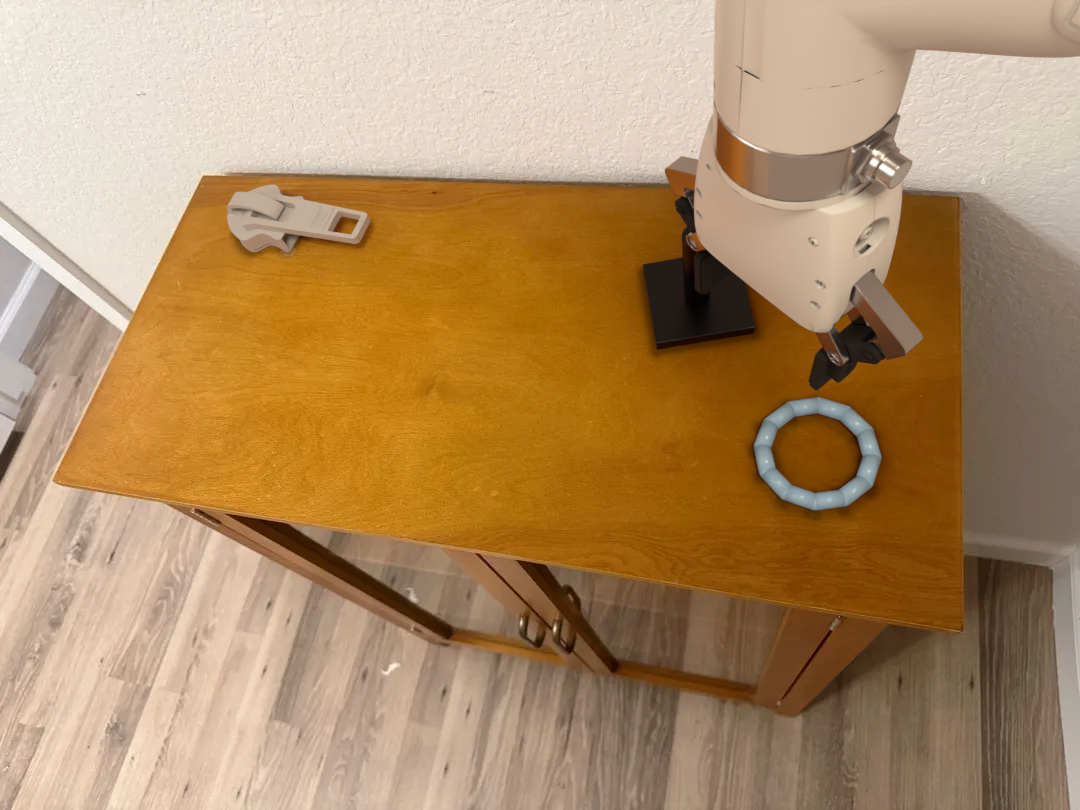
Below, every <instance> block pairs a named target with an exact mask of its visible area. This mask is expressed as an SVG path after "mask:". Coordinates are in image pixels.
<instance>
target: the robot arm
mask: <svg viewBox="0 0 1080 810" xmlns="http://www.w3.org/2000/svg"><path fill="white" fill-rule="evenodd" d="M713 22H714V23H713V24H714V27H713V28H714V29H713V91H712V92H713V95H712V115H711V117H710V118H709V120H708V123H707V125H706V129H705V132H704V135H703V138H702V142H701V146H700V150H699V155H698V159H697V158H692V157H688V156H684V155H681V156H679V157H678V158H677V159H676V160H674V161H673V162H672V163H670V164H669V165H667V166H666V168H664V174H665V176H666V179H667V182H668V183H669V187H670V188H671V191H672V193H673V195H674V196H676V197H677V199H676V200H675V201H674V206H675V211H676V212H677V213H678V215H680V218H681V219H682V221H683V222H684V224H685V225H686V227H688V229H689V230H690V232H691V233H689V234H688V235H687V236H686V241H687V243H688V245H689V246H690V247H691V248H692V249H693V250H694V251H696V255H694V271H695V290H696V291H698V292H699V293H700V294H707V293H708V292H709V291H710V290H712V289H713V288H714V287H715V286H716V285H718V284H719V283H720V282H721V281H723V280H724V279H725V278H726V277H727V276H729V275H730V274H731V273H732V272H733V273H734V274H736V275H737V276H738V277H739V278H741V279H742V280H743V281H744V282H745V284H746V285H748V286H749V287H750V288H752V290H754V291H755V292H757V293H758V294H759V295H760V296H762V297H763V298H764V299H765V300H767V301H768V302H769V303H771V304H772V305H773V306H774V307H775V308H777V309H778V310H779V311H781V312H782V313H783V314H785V315H786V316H787V317H788V318H789V319H791V320H793V321H794V322H795V323H797V324H798V325H799V326H800V327H803V328H804V329H806V330H808V331H811V332H814V333H815V335H816V336H817V339H818V341H819V343H820V345H821V347H820V349H818V351H816V352H815V355H814V358H813V362H812V365H811V369H810V374H809V377H808V381H807V382H808V383H809V387H811V388H812V389H813V390H814V391H815V392H816V391H819V390H820V389H821V388H822V387H824V386H825V385H826V384H828V382H830V381H831V380H833V381H834V382H835V383H837V384H839V383H841V382H842V381H843V380H845V379H846V378H847V377H848V376H849V375H850V374H852V372H853V371H854V370H855V368H856V367H857V365H858V363H863V364H867V365H868V364H869V365H878V364H879V363H880V362H881V361H883V360H886V361H890V360H893V359H897V358H901V357H905V356H906V355H907V354H908V353H910V351H912V350H913V349H914V348H916V347H917V345H919V344H920V343H921V342H922V341H923V339H924V336H923V334H922V332H921V330H920V329H919V328H918V327H917V326H916V324H915V323H914V322H913V321H912V319H911V317H910V316H908V314H907V313H906V312H905V310H904V309H903V308H902V307H901V306H900V304H899V303H898V302H897V300H896V299H895V298H894V297H893V296H892V294H891V293H890V292H889V291H888V290H887V288H886V287H885V285H884V283H885V281H886V279H887V277H888V273H889V269H890V266H891V263H892V258H893V255H894V250H895V246H896V241H897V237H898V232H899V227H900V221H901V214H902V204H903V181H904V179H905V178H906V177H907V175H908V174H909V172H910V170H911V168H912V166H913V160H912V159H910V158H908V157H907V156H905V155H904V154H902V153H901V148H899V147H898V146H897V143H896V141H895V136H896V134H897V130H898V126H899V124H900V121H901V117H902V116H901V115H900V114H898V113H899V110H900V106H901V104H902V100H903V97H904V93H905V90H906V86H907V83H908V80H909V78H910V73H911V70H912V67H913V63H914V60H915V56H916V53H917V51H932V52H933V51H934V52H935V51H936V52H947V53H950V52H951V53H964V54H977V55H978V54H979V55H989V56H1002V57H1016V58H1017V57H1018V58H1019V57H1020V58H1041V59H1042V58H1045V59H1049V58H1050V59H1057V58H1061V59H1062V58H1075V57H1077V58H1078V57H1080V0H714V21H713ZM846 315H847V317H848V319H849V321H850V323H848V325H846V326H845V327H844V328H843V329H842V330H841V331H839V330H838V328H837V327H836V323H838V322H839V321H840V320H841V319H843V317H845V316H846Z"/></svg>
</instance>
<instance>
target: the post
mask: <svg viewBox="0 0 1080 810" xmlns="http://www.w3.org/2000/svg"><path fill="white" fill-rule="evenodd" d="M689 233H691V232H690V230H689V229H688V227H687V226H686V227H685V228H684V229H683V230H682V232H681V252H682V256H681V257H677V258H672V259H671V258H670V259H666V260H661V261H654V262H649V263H643V264H642V270H643V276H644V281H645V287H646V288H645V289H646V294H647V300H648V306H649V312H650V317H651V324H652V329H653V335H654V341H655V347H656V350H662V349H669V348H675V347H681V346H687V345H694V344H699V343H705V342H711V341H718V340H722V339H723V340H725V339H731V338H737V337H742V336H748V335H749V336H750V335H755V334H756V324H755V323H756V322H755V319H754V316H753V310H752V307H751V302H750V297H749V294H748V290H747V284H746V282H744V281H743V280H742V279H741V278H739V277H738V276H737V275H736V274H734V273H733V272H732V273H731V274H730V275H729V276H727V277H726V278H725V279H724V280H723V281H721V282H720V283H719V284H718V285H716V286H715V287H714V288H713V289H712V290H710V291H709V292H708V293H707V294H700V293H699V292H698V291H696V290H695V271H694V255H696V251H694V250H693V249H692V248H691V247H690V246H689V245H688V243H687V241H686V236H687V235H688V234H689Z"/></svg>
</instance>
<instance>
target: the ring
mask: <svg viewBox="0 0 1080 810" xmlns="http://www.w3.org/2000/svg"><path fill="white" fill-rule="evenodd" d="M817 414H818V415H821V416H824V417H827V418H831V419H833V420H837V421H840V422H841V423H842V424H843V425H844V426H845V427H846V428H847V429H848V430H849V431H850V432H851V433H852V434H853V435H855V437H856V439H857V443H858V446H859V449H860V454H861V457H862V458H861V460H860V463H859V467H858V469H857V473H856V476H854V478H852V479H851V480H849V481H848V482H847V483H845V484H844V485H843V486H842V487H840V488H839V489H834V490H826V491H819V492H813V491H812V490H808V489H805V488H802V487H799V486H796V485H793V484H792V483H791V482H790V481H789V480H788V479H787V478H786V477H785V476H784V475H783V474H782V472H780V470H778V468H776V463H775V459H774V454H773V451H772V447H773V444H774V442H775V439H776V436H777V433H778V430H780V429H781V428H782V427H784V426H785V425H786V424H787V423H789V422H791V420H793V419H794V418H796V417H797V418H798V417H804V416H811V415H817ZM753 451H754V456H755V462H756V465H757V470H758V474H759V477H760V478H761V479H762V480H763V481H764V482H765V483H766V484H767V486H769V488H770V489H771V490H772V491H773V492H774V493H775V494H776V495H777V496H778V497H779V498H780V499H781V500H783V501H785V502H788V503H790V504H793V505H796V506H800V507H802V508H804V509H808V510H810V511H815V512H816V511H822V510H831V509H837V508H845V507H848V506H850V505H852V503H853V502H855V501H856V500H858V499H859V498H860V497H861V496H863V495H864V494H865V493H866V492H868V491H869V490H870V489H872V488H873V486H874V484H875V481H876V479H877V478H876V477H877V474H878V471H879V468H880V465H881V462H882V453H881V450H880V447H879V443H878V440H877V436H876V433H875V430H874V428H873V427H872V426H871V424H870V423H868V422H867V421H866V420H865V419H864V418H863V417H862V416H861V415H860V414H859V413H857V411H856V410H855V409H853V408H852V407H851V406H850V405H847V404H844V403H840V402H838V401H834V400H831V399H827V398H824V397H821V396H813V397H809V398H808V397H807V398H801V399H795V400H794V399H793V400H789V401H787V402H784V404H782V405H780V407H778V408H777V409H775V410H773V412H772V413H770V414H769V415H767V416H766V417H765V418H764V419H763V420H762V423H761V425H760V428H759V430H758V433H757V435H756V437H755V441H754V444H753Z"/></svg>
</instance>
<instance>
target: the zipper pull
mask: <svg viewBox="0 0 1080 810" xmlns="http://www.w3.org/2000/svg"><path fill="white" fill-rule="evenodd" d="M226 212H227V216H226V219H227V220H226V221H227V225H228V227H229V230H230V231H231V233H232V234H233V236H235V238H237V239H238V240H239V241H240V243H241V244H242V246H243V247H244V248H245V249H246V250H248V252H251V253H258V252H260V251H262V250H264V249H266V248H267V247H270V246H271V247H272V246H273V247H276V248H279V249H280V250H282V251H283V252H287V253H289V252H291V251H292V249H293V248H294V245H295V244H296V242H297V241H298V239H299V237H300V236H302V237H308V238H309V237H310V238H315V239H322V240H328V241H333V242H341V243H348V244H353V245H356V244H359V243H360V242H361V241H362V239H363V237H364V235H365V233H366V231H367V229H368V228H369V225H370V223H371V219H370V217H369V215H368V214H367V212H366V211H361V210H357V209H356V210H355V209H350V208H346V207H341V206H337V205H331V204H327V203H322V202H317V201H313V200H309V199H305V198H304V197H303V196H302V195H294V196H288V195H284V193H283V192H282V190H281V189H280V188H279V186H278V185H277V184H267V185H262V186H259V187H256V188H253V189H251V190H248V191H235V192H234V193H233V195H232V197H231V198H230V200H229V202H228V203H227V205H226ZM342 217H343V218H349V219H352V220H353V219H354V220H358V221H357V223H356V225H355V227H354V228H353V230H352V232H351V234H350V233H344V232H339V231H338V232H336V231H334V230H335V229H336V227H337V224H338V223H339V221H340V220H341V218H342Z"/></svg>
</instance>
